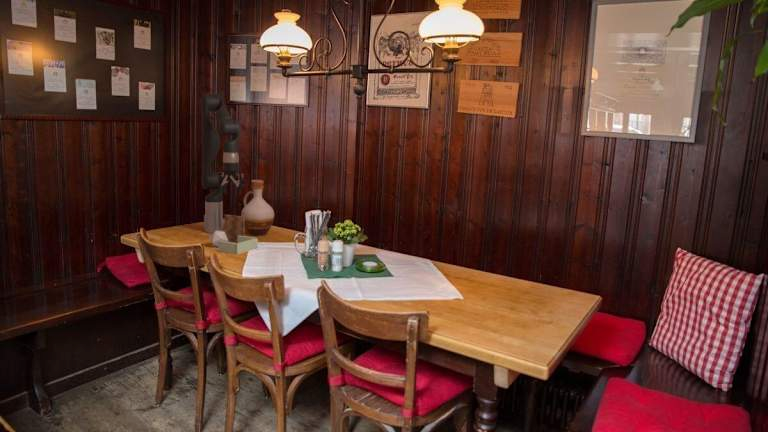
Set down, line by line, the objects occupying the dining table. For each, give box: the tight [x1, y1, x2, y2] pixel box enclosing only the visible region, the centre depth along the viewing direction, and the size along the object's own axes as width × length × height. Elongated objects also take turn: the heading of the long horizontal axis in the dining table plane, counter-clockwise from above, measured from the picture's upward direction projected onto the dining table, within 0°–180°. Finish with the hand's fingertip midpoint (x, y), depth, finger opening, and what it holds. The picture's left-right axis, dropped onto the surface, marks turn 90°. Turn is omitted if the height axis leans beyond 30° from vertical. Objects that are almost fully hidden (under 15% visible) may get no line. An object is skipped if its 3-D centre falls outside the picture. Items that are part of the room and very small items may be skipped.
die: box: [208, 230, 228, 248], centre depth 286 cm, size 8×9×10 cm
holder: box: [217, 235, 259, 255], centre depth 281 cm, size 12×15×5 cm
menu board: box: [224, 213, 246, 243], centre depth 295 cm, size 12×5×14 cm, turn 65°
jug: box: [240, 179, 275, 237], centre depth 315 cm, size 20×18×30 cm
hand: (231, 193), depth 288 cm, fingers open, 8 cm apart
